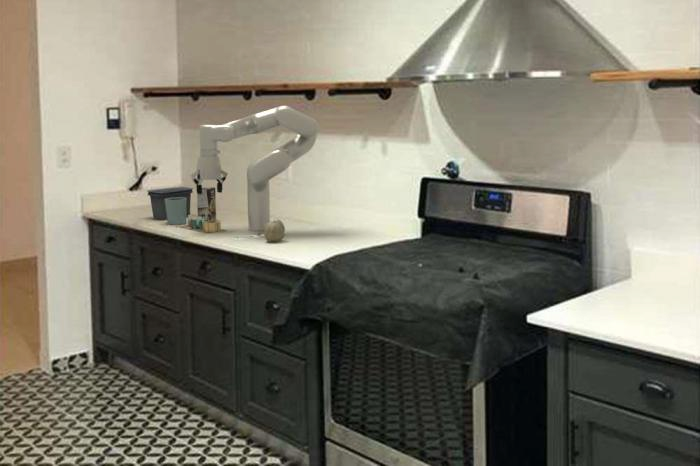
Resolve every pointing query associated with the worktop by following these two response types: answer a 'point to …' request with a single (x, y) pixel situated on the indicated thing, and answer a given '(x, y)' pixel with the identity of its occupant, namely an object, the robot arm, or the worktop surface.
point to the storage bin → (162, 194)
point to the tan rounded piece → (274, 231)
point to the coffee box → (207, 204)
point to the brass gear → (211, 226)
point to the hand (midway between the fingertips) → (209, 193)
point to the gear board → (195, 224)
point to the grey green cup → (176, 210)
